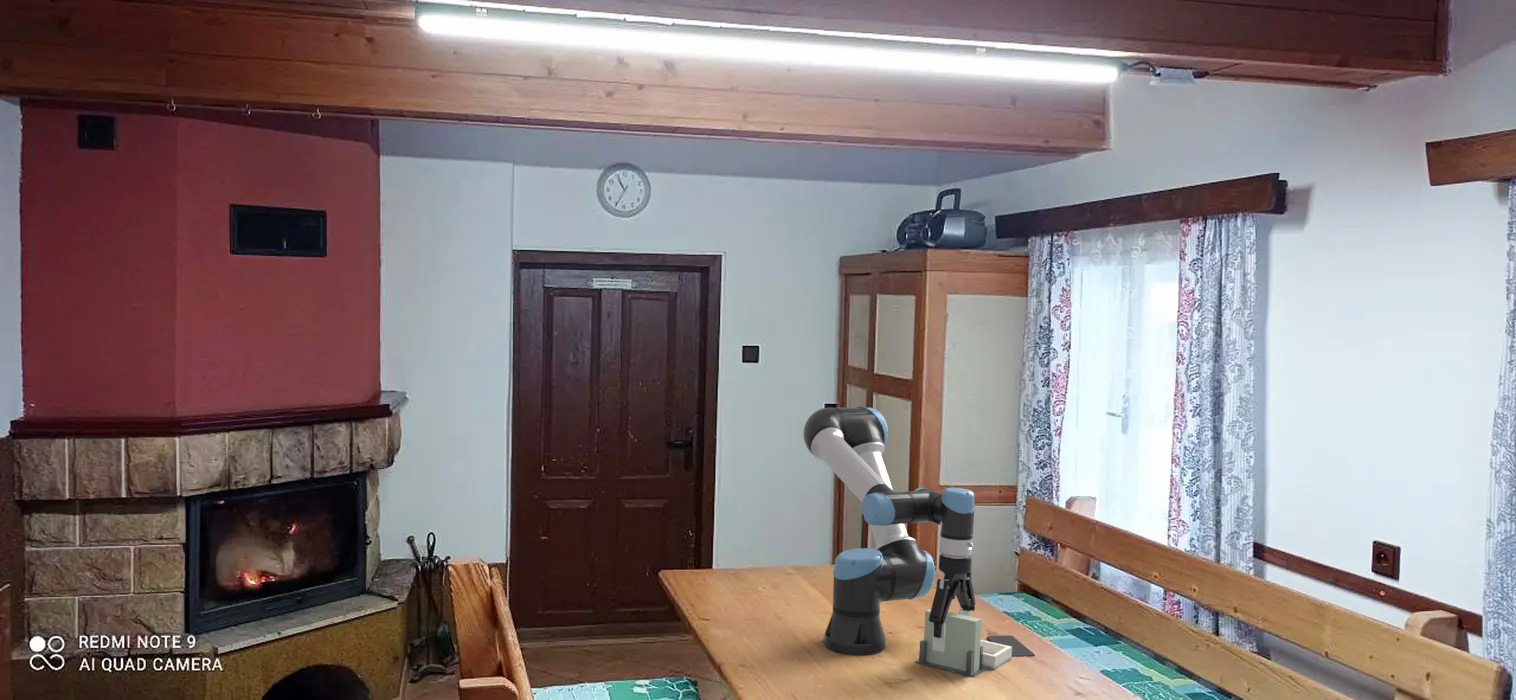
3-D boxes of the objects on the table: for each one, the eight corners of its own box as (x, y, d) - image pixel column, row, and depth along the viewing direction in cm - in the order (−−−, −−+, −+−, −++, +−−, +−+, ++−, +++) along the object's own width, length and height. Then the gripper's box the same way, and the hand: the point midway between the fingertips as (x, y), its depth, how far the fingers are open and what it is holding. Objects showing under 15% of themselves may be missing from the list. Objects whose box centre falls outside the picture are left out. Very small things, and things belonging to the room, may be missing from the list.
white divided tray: (925, 652, 268) (926, 640, 268) (943, 643, 276) (944, 631, 276) (994, 669, 258) (995, 656, 258) (1011, 658, 266) (1011, 646, 266)
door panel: (981, 668, 257) (983, 617, 257) (973, 673, 254) (976, 621, 253) (931, 656, 265) (933, 607, 264) (923, 660, 261) (925, 610, 261)
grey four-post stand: (915, 662, 260) (916, 640, 260) (928, 655, 266) (929, 633, 266) (973, 677, 252) (974, 654, 252) (986, 669, 258) (987, 647, 257)
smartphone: (1008, 655, 268) (985, 635, 282) (1007, 659, 268) (985, 639, 282) (1036, 654, 269) (1012, 634, 284) (1036, 658, 269) (1012, 638, 284)
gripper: (946, 567, 246) (942, 660, 247) (992, 548, 266) (987, 635, 267) (916, 561, 250) (912, 652, 251) (963, 543, 270) (959, 628, 271)
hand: (951, 643), depth 259 cm, fingers open, 13 cm apart
